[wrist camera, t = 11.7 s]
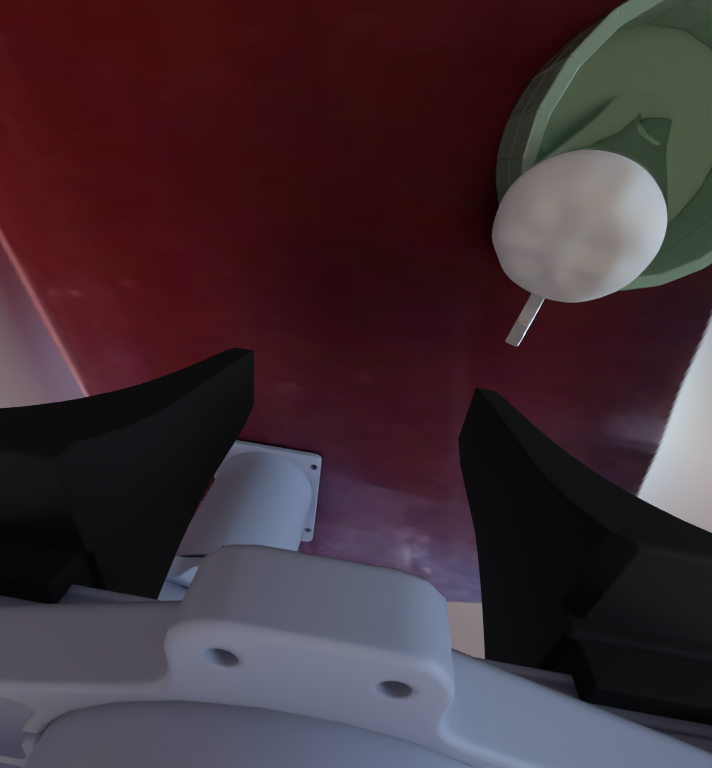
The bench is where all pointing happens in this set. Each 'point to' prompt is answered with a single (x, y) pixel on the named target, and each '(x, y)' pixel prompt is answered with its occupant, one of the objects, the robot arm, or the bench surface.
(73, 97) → the bench surface
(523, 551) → the robot arm
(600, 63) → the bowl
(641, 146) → the milkshake cup
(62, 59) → the bench surface
